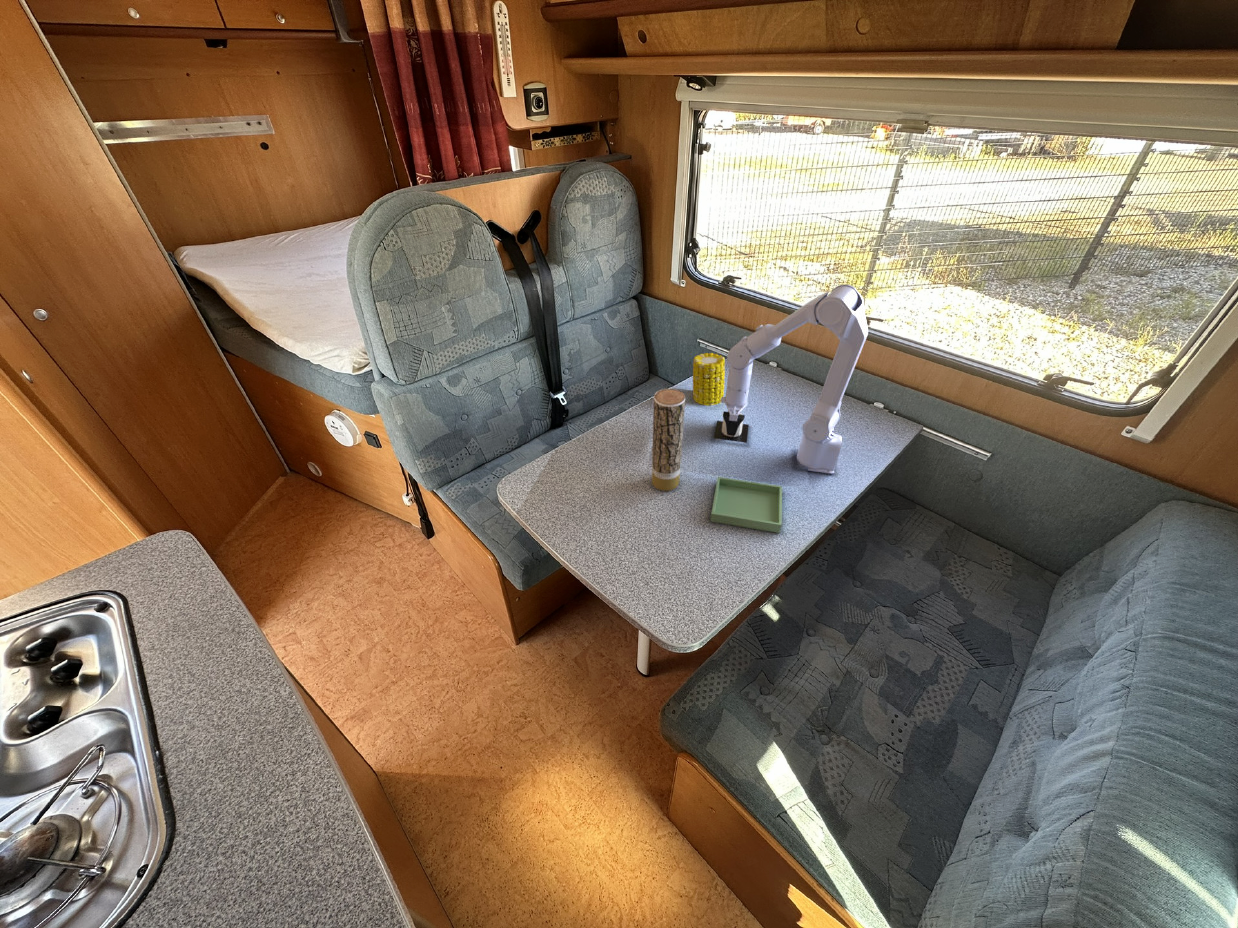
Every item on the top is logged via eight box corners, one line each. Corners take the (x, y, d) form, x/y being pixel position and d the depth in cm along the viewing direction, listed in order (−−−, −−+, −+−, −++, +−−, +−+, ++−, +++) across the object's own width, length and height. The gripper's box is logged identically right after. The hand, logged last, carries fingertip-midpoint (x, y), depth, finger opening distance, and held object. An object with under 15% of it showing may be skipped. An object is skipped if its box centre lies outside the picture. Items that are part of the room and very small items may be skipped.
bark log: (677, 493, 119) (683, 406, 104) (649, 490, 120) (651, 403, 105) (680, 476, 124) (686, 390, 109) (653, 473, 126) (656, 387, 110)
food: (705, 415, 149) (687, 401, 156) (737, 398, 151) (717, 385, 158) (698, 373, 139) (679, 360, 146) (732, 355, 141) (711, 343, 148)
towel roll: (742, 427, 139) (744, 412, 136) (740, 438, 135) (743, 423, 132) (722, 424, 140) (724, 410, 137) (720, 435, 136) (722, 420, 133)
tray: (780, 493, 118) (782, 486, 117) (779, 533, 109) (781, 525, 107) (716, 484, 122) (717, 476, 120) (710, 521, 112) (711, 513, 110)
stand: (748, 427, 141) (752, 402, 135) (746, 445, 134) (750, 420, 129) (716, 423, 142) (719, 398, 137) (713, 441, 136) (716, 416, 131)
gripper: (725, 371, 135) (720, 413, 143) (719, 398, 124) (714, 441, 132) (751, 373, 133) (744, 416, 142) (748, 401, 122) (741, 445, 131)
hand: (731, 428), depth 137 cm, fingers closed on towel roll, 5 cm apart
